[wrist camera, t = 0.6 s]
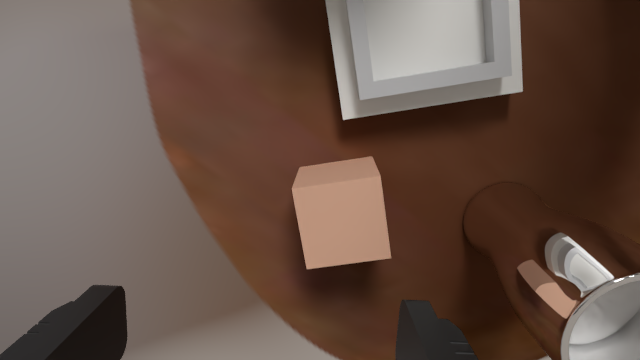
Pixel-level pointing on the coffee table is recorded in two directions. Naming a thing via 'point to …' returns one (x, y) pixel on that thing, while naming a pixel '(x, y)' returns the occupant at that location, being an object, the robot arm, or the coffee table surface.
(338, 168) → the terracotta block
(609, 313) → the beer glass
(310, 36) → the coffee table surface
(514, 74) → the grey stand
